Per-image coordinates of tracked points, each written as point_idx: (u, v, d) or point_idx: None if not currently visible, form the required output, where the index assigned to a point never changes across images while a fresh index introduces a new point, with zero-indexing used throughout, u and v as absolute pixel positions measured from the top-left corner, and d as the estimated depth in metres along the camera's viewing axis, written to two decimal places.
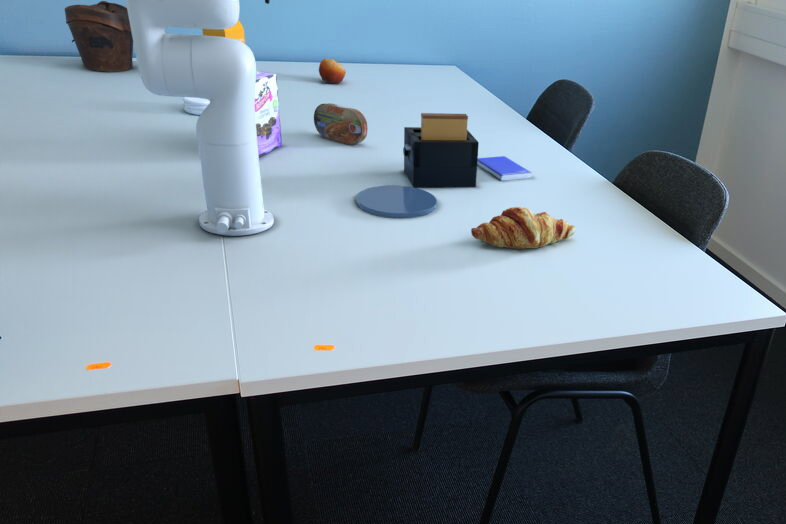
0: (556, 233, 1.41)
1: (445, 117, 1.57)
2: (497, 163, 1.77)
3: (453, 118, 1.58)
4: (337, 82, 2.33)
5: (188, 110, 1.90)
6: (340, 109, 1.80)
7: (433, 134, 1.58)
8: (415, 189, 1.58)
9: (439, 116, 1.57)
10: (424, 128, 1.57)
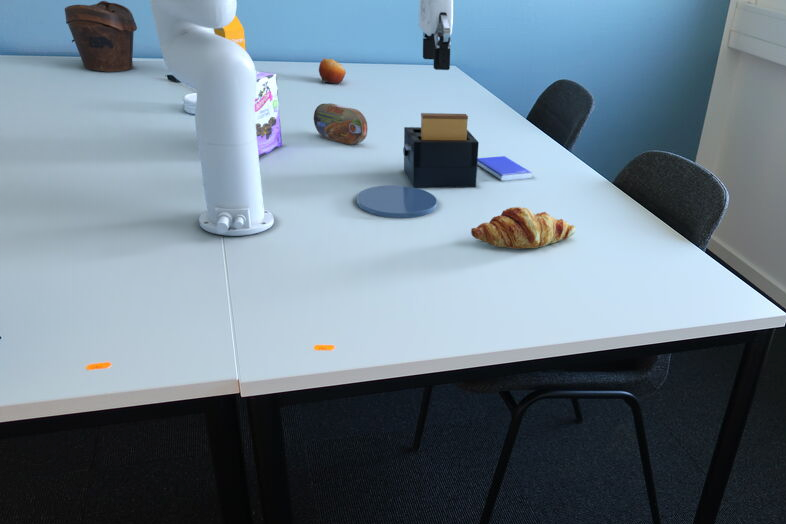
0: (556, 233, 1.41)
1: (445, 117, 1.57)
2: (497, 163, 1.77)
3: (453, 118, 1.58)
4: (337, 82, 2.33)
5: (188, 110, 1.90)
6: (340, 109, 1.80)
7: (433, 134, 1.58)
8: (415, 189, 1.58)
9: (439, 116, 1.57)
10: (424, 128, 1.57)
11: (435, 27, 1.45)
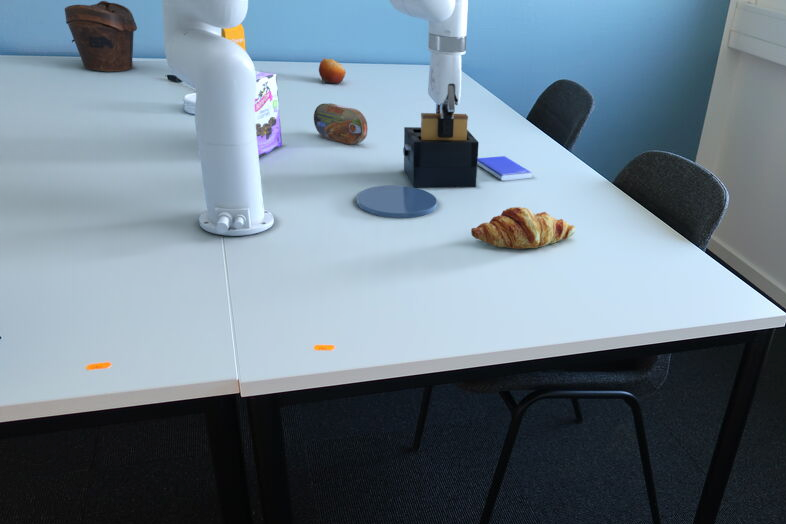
0: (556, 233, 1.41)
1: None
2: (497, 163, 1.77)
3: None
4: (337, 82, 2.33)
5: (188, 110, 1.90)
6: (340, 109, 1.80)
7: (433, 134, 1.58)
8: (415, 189, 1.58)
9: (439, 116, 1.57)
10: (424, 128, 1.57)
11: (444, 97, 1.51)
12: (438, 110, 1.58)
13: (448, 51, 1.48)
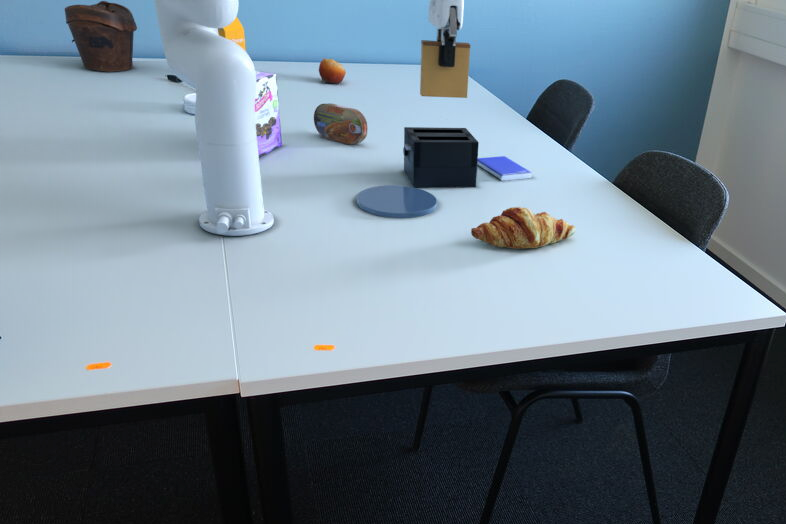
0: (556, 233, 1.41)
1: None
2: (497, 163, 1.77)
3: None
4: (337, 82, 2.33)
5: (188, 110, 1.90)
6: (340, 109, 1.80)
7: (434, 63, 1.51)
8: (415, 189, 1.58)
9: (440, 43, 1.49)
10: (424, 56, 1.49)
11: (445, 20, 1.43)
12: (439, 38, 1.51)
13: None
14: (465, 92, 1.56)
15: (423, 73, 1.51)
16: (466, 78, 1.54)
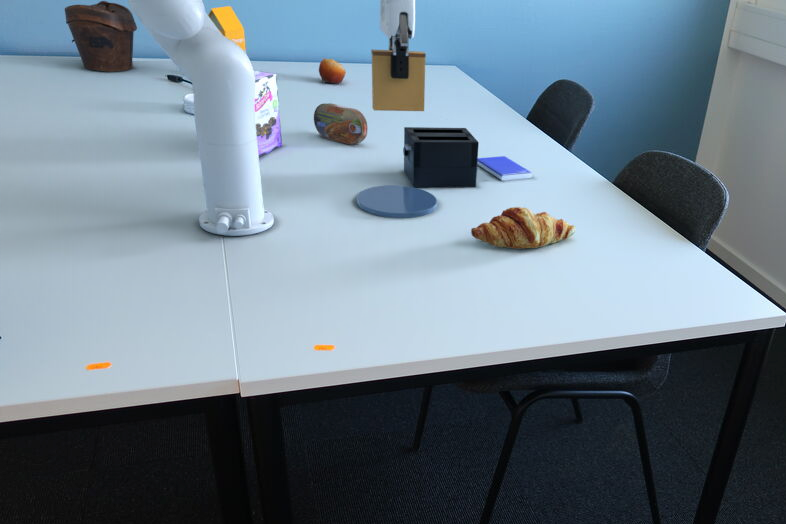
0: (556, 233, 1.41)
1: None
2: (497, 163, 1.77)
3: (408, 55, 1.38)
4: (337, 82, 2.33)
5: (188, 110, 1.90)
6: (340, 109, 1.80)
7: (386, 74, 1.38)
8: (415, 189, 1.58)
9: (392, 53, 1.36)
10: (375, 67, 1.37)
11: (395, 28, 1.31)
12: (391, 47, 1.38)
13: None
14: (422, 105, 1.43)
15: (374, 85, 1.38)
16: (422, 90, 1.42)
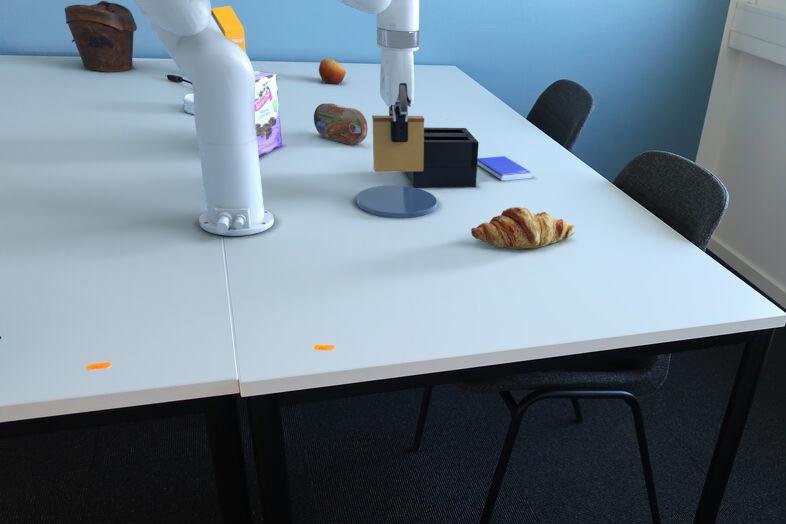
0: (556, 233, 1.41)
1: None
2: (497, 163, 1.77)
3: (408, 120, 1.44)
4: (337, 82, 2.33)
5: (188, 110, 1.90)
6: (340, 109, 1.80)
7: (386, 138, 1.44)
8: (415, 189, 1.58)
9: (392, 119, 1.43)
10: (376, 132, 1.43)
11: (395, 98, 1.37)
12: (391, 112, 1.44)
13: (398, 47, 1.34)
14: (421, 166, 1.49)
15: (375, 149, 1.45)
16: (421, 152, 1.48)
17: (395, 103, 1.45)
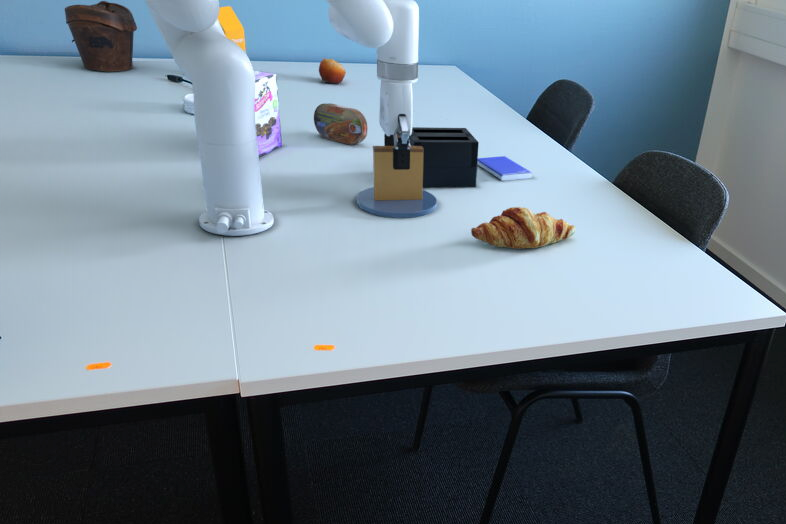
0: (556, 233, 1.41)
1: None
2: (497, 163, 1.77)
3: None
4: (337, 82, 2.33)
5: (188, 110, 1.90)
6: (340, 109, 1.80)
7: (386, 168, 1.47)
8: None
9: (392, 149, 1.46)
10: (376, 162, 1.46)
11: (394, 128, 1.39)
12: None
13: (397, 79, 1.36)
14: (420, 194, 1.52)
15: (375, 178, 1.48)
16: (420, 181, 1.51)
17: None
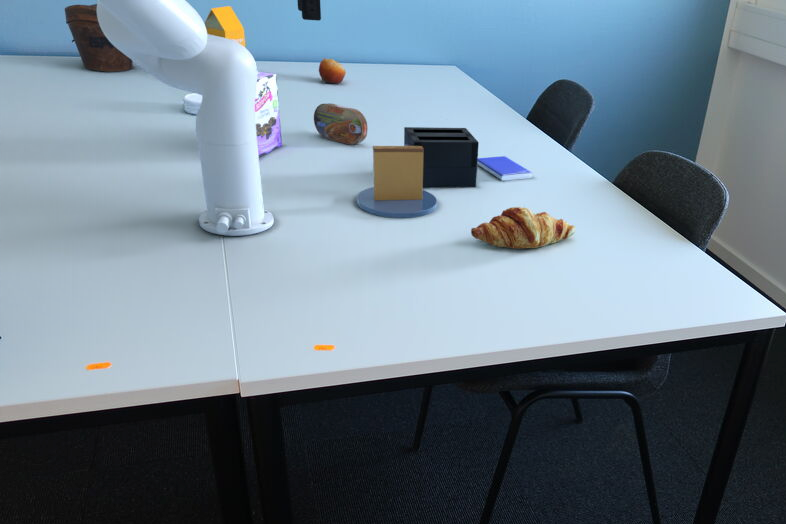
0: (556, 233, 1.41)
1: (399, 150, 1.46)
2: (497, 163, 1.77)
3: (407, 151, 1.47)
4: (337, 82, 2.33)
5: (188, 110, 1.90)
6: (340, 109, 1.80)
7: (386, 168, 1.47)
8: None
9: (392, 149, 1.46)
10: (376, 162, 1.46)
11: None
12: None
13: None
14: (420, 194, 1.52)
15: (375, 178, 1.48)
16: (420, 181, 1.51)
17: None
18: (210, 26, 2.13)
